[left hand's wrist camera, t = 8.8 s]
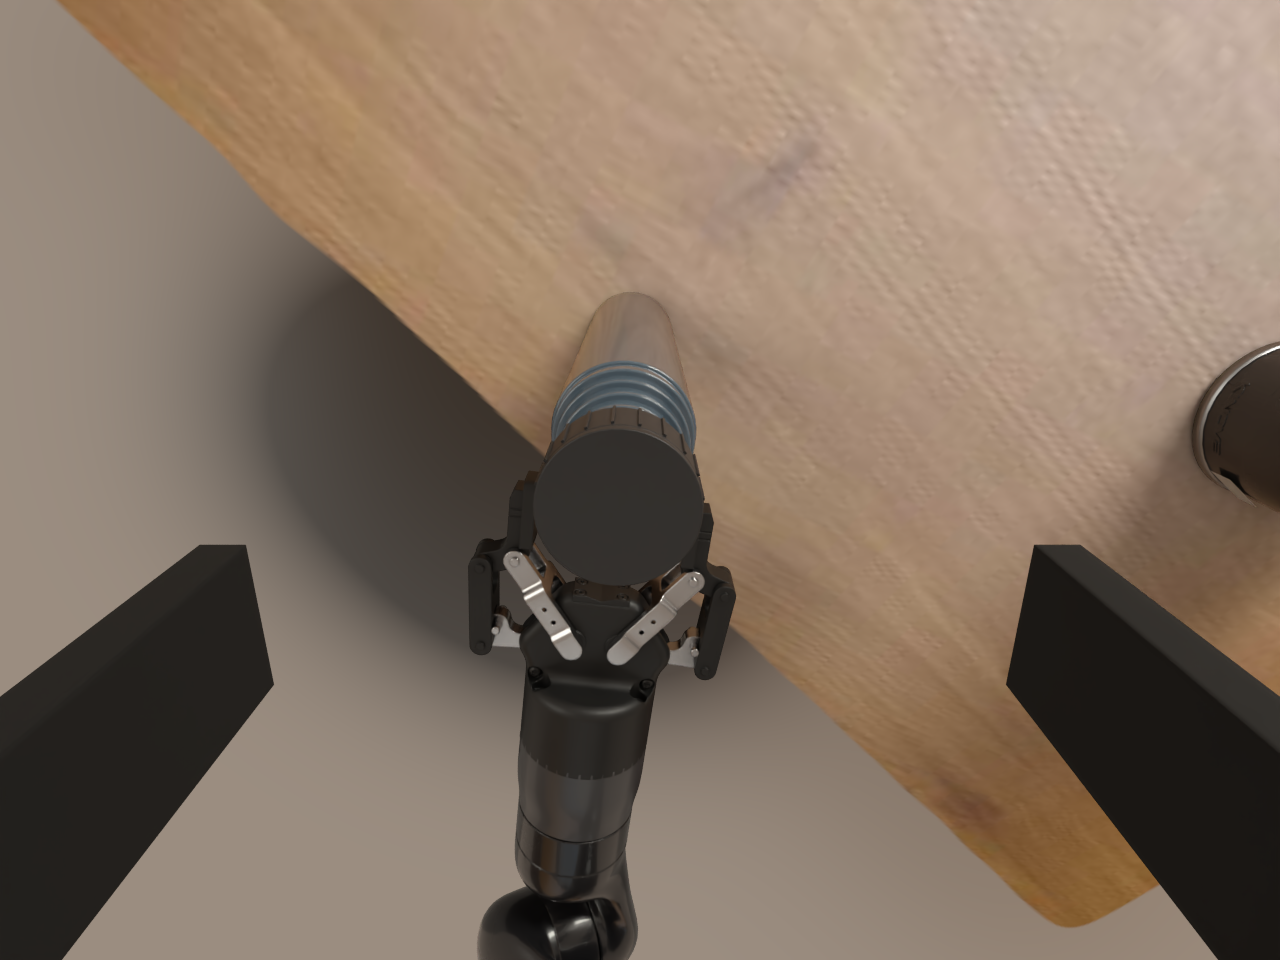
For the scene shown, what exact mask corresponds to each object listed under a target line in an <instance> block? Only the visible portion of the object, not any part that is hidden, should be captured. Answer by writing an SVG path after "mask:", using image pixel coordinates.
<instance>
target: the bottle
mask: <svg viewBox="0 0 1280 960" xmlns="http://www.w3.org/2000/svg"><path fill="white" fill-rule="evenodd" d="M614 405H616V407H626V408H633V409H638V408H642V411H646V412H648V413H651V414H653V415H655V416H657V417H659V418H661V419H662V417H663V418H665V421H666V422H667V423H668V424H670V425H671V426H672V427H673V428H674V429H675V430H676V431H677V432H678V433H679V434H681V433H682V434H683V435H684V439H685V441H686V443H687V445H688V446H689V448H690V450H691V452H692V455H693V453H694V447H695V440H696V420H695V415H694V411H693V407H692V404H691V400H690V396H689V392H688V388H687V384H686V380H685V377H684V373H683V369H682V365H681V361H680V357H679V354H678V350H677V346H676V342H675V338H674V334H673V330H672V327H671V323H670V320H669V317H668V315H667V313H666V311H665V310H664V309H663V307H662V306H661V305H660V304H659V303H658V302H657V301H655V300H654V299H653V298H651V297H649V296H647V295H644V294H641V293H635V292H626V293H621V294H617V295H615V296H612V297H611V298H609V299H607V300H606V301H605V302H604V303H603V304H602V305H601V306H600V307H599V308H598V310H597V311H596V313H595V314H594V317H593V319H592V321H591V324H590V326H589V328H588V331H587V333H586V335H585V338H584V340H583V342H582V345H581V347H580V350H579V352H578V354H577V357H576V359H575V361H574V364H573V366H572V368H571V371H570V373H569V375H568V378H567V380H566V383H565V385H564V387H563V390H562V392H561V394H560V397H559V399H558V401H557V404H556V407H555V409H554V413H553V417H552V426H551V431H552V434H551V435H552V441H553V442H554V441H555V440H556V438H557V437H558V436H559V434H560V433H561V432H562V431H563V430H564V429H565V427H566V424H567V423H569V424H571V423H572V422H574V421H575V420H577V419H578V418H580V417H582V416H584V415H586V414H587V413H588V411H590V410H591V412H593V411H597V410H601V409H605V408H613V406H614Z"/></svg>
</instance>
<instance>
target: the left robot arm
mask: <svg viewBox="0 0 1280 960" xmlns="http://www.w3.org/2000/svg"><path fill="white" fill-rule="evenodd" d="M273 685H274V682H273V678H272V673H271V668H270V663H269V658H268V653H267V648H266V643H265V638H264V633H263V628H262V623H261V618H260V613H259V608H258V603H257V598H256V593H255V588H254V583H253V578H252V573H251V568H250V563H249V559H248V554H247V548H246V545H199V546H198V547H196V548H195V549H194V550H192V551H191V552H190V553H188V554H187V555H186V556H184V557H183V558H182V559H181V560H179V561H178V562H177V563H175V564H174V565H173V566H171V567H170V568H169V569H167V570H166V571H165V572H163V573H162V574H161V575H160V576H158V577H157V578H156V579H154V580H153V581H152V582H150V583H149V584H148V585H146V586H145V587H144V588H142V589H141V590H140V591H138V592H137V593H136V594H135V595H133V596H132V597H131V598H129V599H128V600H127V601H125V602H124V603H123V604H121V605H120V606H119V607H117V608H116V609H115V610H114V611H112V612H111V613H110V614H108V615H107V616H106V617H104V618H103V619H102V620H100V621H99V622H98V623H96V624H95V625H94V626H93V627H91V628H90V629H89V630H87V631H86V632H85V633H83V634H82V635H81V636H79V637H78V638H77V639H75V640H74V641H73V642H71V643H70V644H69V645H68V646H66V647H65V648H64V649H62V650H61V651H60V652H58V653H57V654H56V655H54V656H53V657H52V658H50V659H49V660H48V661H47V662H45V663H44V664H43V665H41V666H40V667H39V668H37V669H36V670H35V671H33V672H32V673H31V674H29V675H28V676H27V677H26V678H24V679H23V680H22V681H20V682H19V683H18V684H16V685H15V686H14V687H12V688H11V689H10V690H8V691H7V692H6V693H4V694H3V695H2V696H1V697H0V960H62V959H63V958H64V956H65V955H66V954H67V952H68V951H69V950H70V949H71V947H72V946H73V945H74V943H75V942H76V941H77V939H78V938H79V937H80V936H81V934H82V933H83V932H84V930H85V929H86V928H87V927H88V925H89V924H90V923H91V921H92V920H93V919H94V917H95V916H96V915H97V914H98V912H99V911H100V910H101V908H102V907H103V906H104V904H105V903H106V902H107V901H108V899H109V898H110V897H111V895H112V894H113V893H114V891H115V890H116V889H117V888H118V886H119V885H120V884H121V882H122V881H123V880H124V879H125V877H126V876H127V875H128V873H129V872H130V871H131V869H132V868H133V867H134V866H135V864H136V863H137V862H138V860H139V859H140V858H141V856H142V855H143V854H144V853H145V851H146V850H147V849H148V847H149V846H150V845H151V843H152V842H153V841H154V840H155V838H156V837H157V836H158V834H159V833H160V832H161V831H162V829H163V828H164V827H165V825H166V824H167V823H168V821H169V820H170V819H171V818H172V816H173V815H174V814H175V812H176V811H177V810H178V808H179V807H180V806H181V805H182V803H183V802H184V801H185V799H186V798H187V797H188V795H189V794H190V793H191V792H192V790H193V789H194V788H195V786H196V785H197V784H198V783H199V781H200V780H201V779H202V777H203V776H204V775H205V773H206V772H207V771H208V770H209V768H210V767H211V766H212V764H213V763H214V762H215V760H216V759H217V758H218V757H219V755H220V754H221V753H222V751H223V750H224V749H225V747H226V746H227V745H228V744H229V742H230V741H231V740H232V738H233V737H234V736H235V735H236V733H237V732H238V731H239V729H240V728H241V727H242V725H243V724H244V723H245V722H246V720H247V719H248V718H249V716H250V715H251V714H252V712H253V711H254V710H255V708H256V707H257V706H258V705H259V703H260V702H261V701H262V700H263V698H264V697H265V696H266V694H267V693H268V692H269V690H270V689H271V688H272V687H273ZM1006 685H1007V687H1008V688H1009V689H1010V690H1011V692H1012V693H1013V694H1014V696H1015V697H1016V698H1017V700H1018V701H1019V702H1020V703H1021V705H1022V706H1023V707H1024V709H1025V710H1026V711H1027V712H1028V714H1029V715H1030V716H1031V718H1032V719H1033V720H1034V722H1035V723H1036V724H1037V725H1038V727H1039V728H1040V729H1041V731H1042V732H1043V733H1044V735H1045V736H1046V737H1047V738H1048V740H1049V741H1050V742H1051V744H1052V745H1053V746H1054V748H1055V749H1056V750H1057V751H1058V753H1059V754H1060V755H1061V757H1062V758H1063V759H1064V760H1065V762H1066V763H1067V764H1068V766H1069V767H1070V768H1071V770H1072V771H1073V772H1074V773H1075V775H1076V776H1077V777H1078V779H1079V780H1080V781H1081V783H1082V784H1083V785H1084V786H1085V788H1086V789H1087V790H1088V792H1089V793H1090V794H1091V795H1092V797H1093V798H1094V799H1095V801H1096V802H1097V803H1098V805H1099V806H1100V807H1101V808H1102V810H1103V811H1104V812H1105V814H1106V815H1107V816H1108V818H1109V819H1110V820H1111V821H1112V823H1113V824H1114V825H1115V827H1116V828H1117V829H1118V831H1119V832H1120V833H1121V834H1122V836H1123V837H1124V838H1125V840H1126V841H1127V842H1128V843H1129V845H1130V846H1131V847H1132V849H1133V850H1134V851H1135V853H1136V854H1137V855H1138V856H1139V858H1140V859H1141V860H1142V862H1143V863H1144V864H1145V866H1146V867H1147V868H1148V869H1149V871H1150V872H1151V873H1152V875H1153V876H1154V877H1155V879H1156V880H1157V881H1158V882H1159V884H1160V885H1161V886H1162V888H1163V889H1164V890H1165V891H1166V893H1167V894H1168V895H1169V897H1170V898H1171V899H1172V901H1173V902H1174V903H1175V904H1176V906H1177V907H1178V908H1179V909H1180V911H1181V912H1182V913H1183V915H1184V916H1185V917H1186V919H1187V920H1188V921H1189V923H1190V924H1191V925H1192V927H1193V928H1194V929H1195V930H1196V932H1197V933H1198V934H1199V936H1200V937H1201V938H1202V939H1203V941H1204V942H1205V943H1206V945H1207V946H1208V947H1209V949H1210V950H1211V951H1212V952H1213V954H1214V955H1215V956H1216V958H1217V959H1218V960H1280V697H1279V696H1278V695H1277V694H1276V693H1274V692H1273V691H1272V690H1270V689H1269V688H1268V687H1266V686H1265V685H1264V684H1262V683H1261V682H1260V681H1258V680H1257V679H1256V678H1255V677H1253V676H1252V675H1251V674H1249V673H1248V672H1247V671H1245V670H1244V669H1243V668H1241V667H1240V666H1239V665H1237V664H1236V663H1235V662H1233V661H1232V660H1231V659H1230V658H1228V657H1227V656H1226V655H1224V654H1223V653H1222V652H1220V651H1219V650H1218V649H1216V648H1215V647H1214V646H1212V645H1211V644H1210V643H1209V642H1207V641H1206V640H1205V639H1203V638H1202V637H1201V636H1199V635H1198V634H1197V633H1195V632H1194V631H1193V630H1191V629H1190V628H1189V627H1187V626H1186V625H1185V624H1184V623H1182V622H1181V621H1180V620H1178V619H1177V618H1176V617H1174V616H1173V615H1172V614H1170V613H1169V612H1168V611H1166V610H1165V609H1164V608H1163V607H1161V606H1160V605H1159V604H1157V603H1156V602H1155V601H1153V600H1152V599H1151V598H1149V597H1148V596H1147V595H1145V594H1144V593H1143V592H1142V591H1140V590H1139V589H1138V588H1136V587H1135V586H1134V585H1132V584H1131V583H1130V582H1128V581H1127V580H1126V579H1124V578H1123V577H1122V576H1120V575H1119V574H1118V573H1117V572H1115V571H1114V570H1113V569H1111V568H1110V567H1109V566H1107V565H1106V564H1105V563H1103V562H1102V561H1101V560H1099V559H1098V558H1097V557H1096V556H1094V555H1093V554H1092V553H1090V552H1089V551H1088V550H1086V549H1085V548H1084V547H1082V546H1081V545H1034V548H1033V553H1032V558H1031V563H1030V568H1029V573H1028V578H1027V583H1026V588H1025V593H1024V598H1023V603H1022V608H1021V613H1020V618H1019V623H1018V628H1017V633H1016V638H1015V643H1014V648H1013V653H1012V658H1011V663H1010V668H1009V673H1008V677H1007V682H1006Z"/></svg>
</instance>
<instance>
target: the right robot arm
mask: <svg viewBox="0 0 1280 960" xmlns="http://www.w3.org/2000/svg"><path fill="white" fill-rule="evenodd" d="M1192 443H1193V450H1194V455H1195V458H1196V460H1197V463H1198V465H1199V466H1200V468H1201V470H1202V471H1203V472H1204V473H1205V475H1206V476H1207V477H1208V478H1209V479H1210V480H1212V481H1213V482H1214V483H1216V484H1218V485H1219V486H1221V487H1223V488H1225V489H1227V490H1229V491H1231V492H1232V493H1233V494H1234V495H1235V496H1236V497H1237V498H1238V499H1240V500H1242V501H1244V502H1246V503H1248V504H1250V505H1252V506H1254V507H1256V506H1255V505H1254V504H1253V503H1252V502H1251V501H1250V500H1249V499H1248V498H1250V499H1252V500H1254V501H1256V502H1259V503H1261V504H1263V505H1265V506H1267V507H1269V508H1271V509H1272V510H1275V511H1277V512H1279V513H1280V342H1276V343H1272V344H1269V345H1266V346H1264V347H1261V348H1259V349H1257V350H1255V351H1252V352H1251V353H1249V354H1247V355H1245V356H1244V357H1242V358H1241V359H1239V360H1238V361H1236V362H1235V363H1234V364H1233V365H1231V366H1230V367H1229V368H1228V369H1227V370H1226V371H1224V372H1223V373H1222V374H1221V375H1220V377H1219V378H1218V379H1217V380H1216V381H1215V382H1214V383H1213V385H1212V386H1211V387H1210V389H1209V390H1208V392H1207V393H1206V395H1205V397H1204V398H1203V400H1202V402H1201V404H1200V406H1199V408H1198V411H1197V414H1196V417H1195V421H1194V425H1193V432H1192ZM538 473H539V472H536V471H529V472H528V474H527V476H526V479H525V481H522V480H518V482H517V484H516V486H515V488H514V490H513V492H512V495H511V497H510V503H509V517H508V532H507V537H505V538H503V539H500V540H495V541H494V540H493V539H483V540H482V541H480V542H479V544H478V546H477V549H476V552H475V554H474V557H473V558H472V559H471V561H470V563H469V566H468V580H469V639H470V649H471V650H472V651H473V652H474V653H475V654H478V655H485V654H487V653H489V652H490V650H491V648H492V646H498V647H516V648H520V649H521V651H522V653H523V655H524V657H525V660H526V675H525V687H524V698H523V710H522V721H521V731H520V745H519V756H518V781H519V803H518V814H517V825H516V838H515V860H516V866H517V869H518V872H519V874H520V876H521V878H522V880H523V882H524V883H525V884H526V887H523V888H521V889H518V890H516V891H513V892H511V893H509V894H506V895H504V896H503V897H501V898H499V899H498V900H496V901H495V902H494V903H493V904H492V905H491V906H490V907H489V909H488V910H487V912H486V913H485V915H484V917H483V919H482V922H481V924H480V927H479V932H478V937H477V957H478V960H628V959H629V957H630V955H631V954H632V952H633V950H634V947H635V945H636V941H637V935H638V925H637V918H636V913H635V909H634V904H633V900H632V896H631V891H630V885H629V878H628V870H627V862H626V852H625V847H626V842H627V836H628V830H629V824H630V817H631V811H632V805H633V802H634V799H635V796H636V793H637V790H638V787H639V783H640V779H641V774H642V768H643V762H644V756H645V749H646V744H647V737H648V731H649V725H650V719H651V712H652V706H653V700H654V694H655V688H656V681H657V678H658V676H659V674H660V672H661V671H662V670H663V669H664V668H665V666H666V665H667V664H671V665H677V666H683V667H689V668H694V671H695V675H696V676H697V677H698V678H699V679H701V680H709V679H711V678H713V677H714V675H715V674H716V670H717V667H718V663H719V659H720V655H721V652H722V648H723V644H724V641H725V637H726V633H727V629H728V626H729V622H730V618H731V614H732V611H733V607H734V603H735V599H736V593H735V589H734V585H733V581H732V577H731V573H730V571H729V569H728V568H726V567H724V566H717V567H716V566H714V565H712V564H710V563H709V562H708V561H707V558H708V553H709V547H710V541H711V536H712V530H713V525H714V522H713V517H712V513H711V509H710V505H709V503H704V501H703V518H702V524H701V528H700V531H699V534H698V536H697V538H696V540H695V543H694V545H693V546H692V548H691V549H690V551H689V552H688V553H687V555H686V556H685V557H684V558H683V559H682V560H681V561H680V562H679V563H678V564H677V565H676V566H675V567H673V568H672V569H671V570H669V571H668V572H666V573H665V574H663V575H661V576H659V577H657V578H655V579H652V580H650V581H649V582H647V583H646V584H645V585H644V586H643V587H642V588H641V589H640V590H639V591H637V590H635V589H633V588H631V587H630V585H626V586H612V585H604V584H599V583H595V582H591V581H589V580H586V579H583V578H577V577H576V578H575V581H572V582H568V583H566V582H565V581H564V579H563V578H562V576H561V575H560V573H559V572H558V571H557V569H556V568H555V566H554V565H553V563H552V562H551V561H548V560H546V559H545V557H544V556H543V554H542V553H541V551H540V550H539V548H538V547H537V546H536V544H535V543H534V541H535V538H536V535H537V528H536V525H535V520H534V515H533V499H534V492H535V488H536V485H534V484H535V481H536V478H537V475H538ZM1247 497H1248V498H1247ZM1256 508H1257V507H1256ZM502 570H508V572H509V573H510V574H511V576H512V577H513V579H514V580H515V581H516V583H517V584H518V586H519V587H520V588H521V590H522V592H523V597H524V600H525V602H526V603H527V605H528V606H529V608H530V609H531V610H532V612H533V614H532V615H531V616H530V617H529V618H528V619H527V620H526V621H525V623H524V624H523V625H519V624H517V623H515V622H514V621H513V619H512V617H511V613H510V611H509V610H508V609H507V607H506V606H504V605H501V606H499V571H502ZM698 592H700V593H702V594H704V599H703V603H702V607H701V611H700V615H699V619H698V623H697V627H696V628H695V627H690V628H689V629H687V630H686V631H685V632H684V634H683V636H682V637H681V639H679V640H678V641H675V642H669V638H668V636H667V634H666V633H665V631H664V629H663V627H664V626H666V625H667V624H668V623H669V622H670V621H671V620H672V619H673V618H674V617H675V616H676V614H677V612H678V610H679V609H680V607H681V606H683V605H684V604H685V603H686V602H687V601H688V600H690V599H691V598H692V597H693V596H694V595H695V594H696V593H698Z"/></svg>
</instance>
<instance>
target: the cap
mask: <svg viewBox="0 0 1280 960" xmlns="http://www.w3.org/2000/svg"><path fill="white" fill-rule="evenodd" d="M698 476H700V474H699V469H698V465H697V460H696V456H695V454H693V455H692V452H691V450H690V448H689V446H688V445H687V443H686V441H685V439H684V435H683V434H682V433H681V434H679V433H678V432H677V431H676V430H675V429H674V428H673V427H672V426H671V425H670V424H668V423H667V422H666V421H665V418H663V417H662V419H661V418H659V417H657V416H655V415H653V414H651V413H648V412H646V411H642V408H638V409H633V408H626V407H616V405H614V406H613V408H605V409H601V410H597V411H593V412H591V410H590V411H588V413H587V414H586V415H584V416H582V417H580V418H578V419H577V420H575V421H574V422H572V423H571V424H569V423H567V424H566V427H565V429H564V430H563V431H562V432H561V433H560V434H559V436H558V437H557V438H556V440H555V441H554V442H553V441H551V443H550V446H549V448H548V451H547V453H546V456H545V459H544V463H542V465H541V468H540V470H539V473H538V475H537V478H536V481H535V484H534V485H536V488H535V492H534V499H533V515H534V520H535V525H536V528H537V531H538V534H539V536H540V538H541V540H542V542H543V544H544V546H545V547H546V548H547V550H548V551H549V553H550V554H551V555H552V556H553V557H554V558H555V560H556V561H557V562H559V563H560V564H561V565H562V566H563V567H564V568H566V569H567V570H569V571H570V572H572V573H573V574H575V575H577V576H579V577H581V578H583V579H586V580H589V581H591V582H595V583H599V584H604V585H612V586H626V585H635V584H639V583H643V582H647V581H649V580H652V579H655V578H657V577H659V576H661V575H663V574H665V573H666V572H668V571H669V570H671V569H672V568H673V567H675V566H676V565H677V564H678V563H679V562H680V561H681V560H682V559H683V558H684V557H685V556H686V555H687V553H688V552H689V551H690V549H691V548H692V546H693V545H694V543H695V540H696V538H697V536H698V534H699V531H700V528H701V524H702V518H703V501H705V498H704V493H703V489H702V484H701V480H700V477H698Z"/></svg>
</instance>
